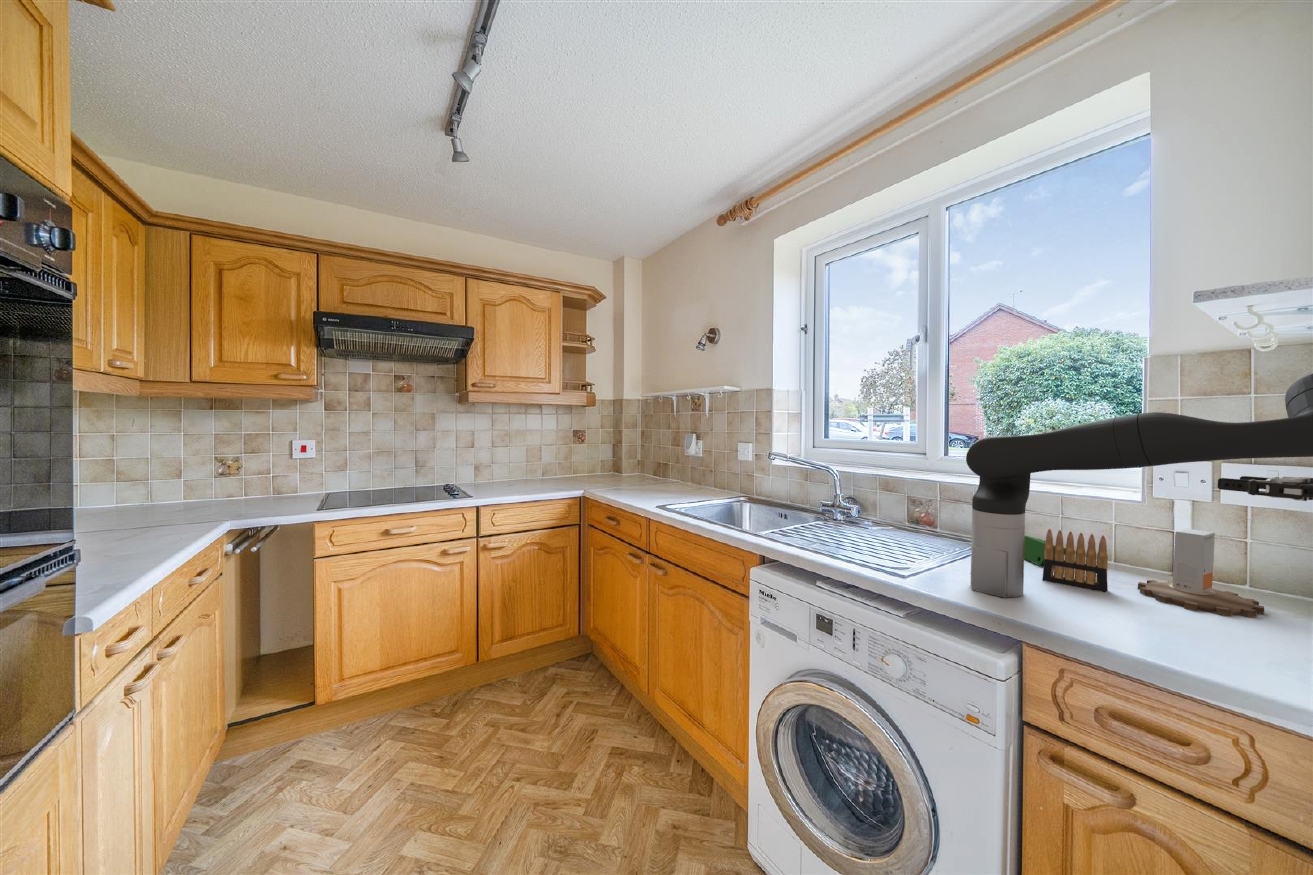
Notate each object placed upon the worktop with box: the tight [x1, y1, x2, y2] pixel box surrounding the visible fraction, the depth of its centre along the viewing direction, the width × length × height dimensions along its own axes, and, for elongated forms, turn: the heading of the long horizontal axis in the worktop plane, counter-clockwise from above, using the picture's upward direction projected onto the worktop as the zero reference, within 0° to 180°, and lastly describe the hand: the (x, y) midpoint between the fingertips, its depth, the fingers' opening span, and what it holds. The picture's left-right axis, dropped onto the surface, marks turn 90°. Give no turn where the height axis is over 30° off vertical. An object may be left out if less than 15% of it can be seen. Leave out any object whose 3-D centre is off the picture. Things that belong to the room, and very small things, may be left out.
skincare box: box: [1172, 528, 1216, 593], centre depth 97 cm, size 6×4×12 cm
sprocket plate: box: [1137, 579, 1265, 618], centre depth 95 cm, size 17×17×1 cm
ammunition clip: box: [1042, 528, 1109, 594], centre depth 103 cm, size 11×2×12 cm, turn 45°
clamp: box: [1024, 535, 1066, 567], centre depth 121 cm, size 12×6×9 cm, turn 165°
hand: (1229, 482), depth 92 cm, fingers open, 8 cm apart
